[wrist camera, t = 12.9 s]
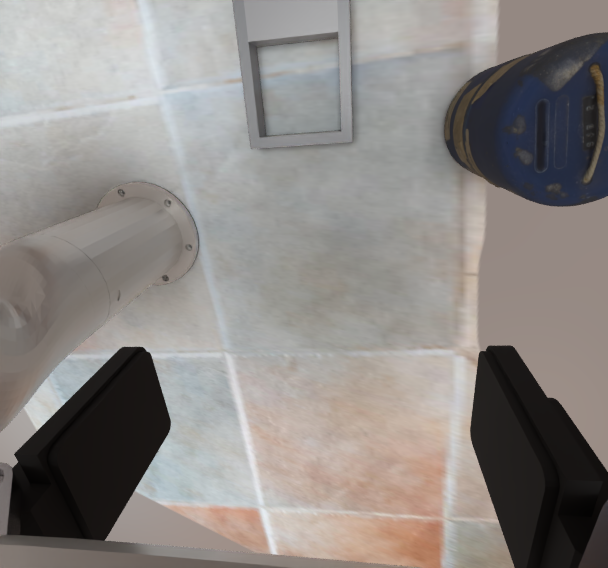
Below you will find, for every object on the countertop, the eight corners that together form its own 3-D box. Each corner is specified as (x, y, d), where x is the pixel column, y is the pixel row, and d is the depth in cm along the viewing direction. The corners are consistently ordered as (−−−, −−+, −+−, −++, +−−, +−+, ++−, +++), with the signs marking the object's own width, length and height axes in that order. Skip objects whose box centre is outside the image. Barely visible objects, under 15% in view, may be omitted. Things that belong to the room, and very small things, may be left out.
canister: (432, 169, 39) (485, 211, 23) (451, 63, 35) (531, 21, 19) (530, 175, 38) (659, 222, 22) (561, 66, 34) (745, 25, 18)
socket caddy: (352, 139, 39) (352, 141, 36) (258, 146, 40) (250, 149, 38) (346, -170, 30) (344, -198, 27) (224, -146, 31) (211, -171, 28)
